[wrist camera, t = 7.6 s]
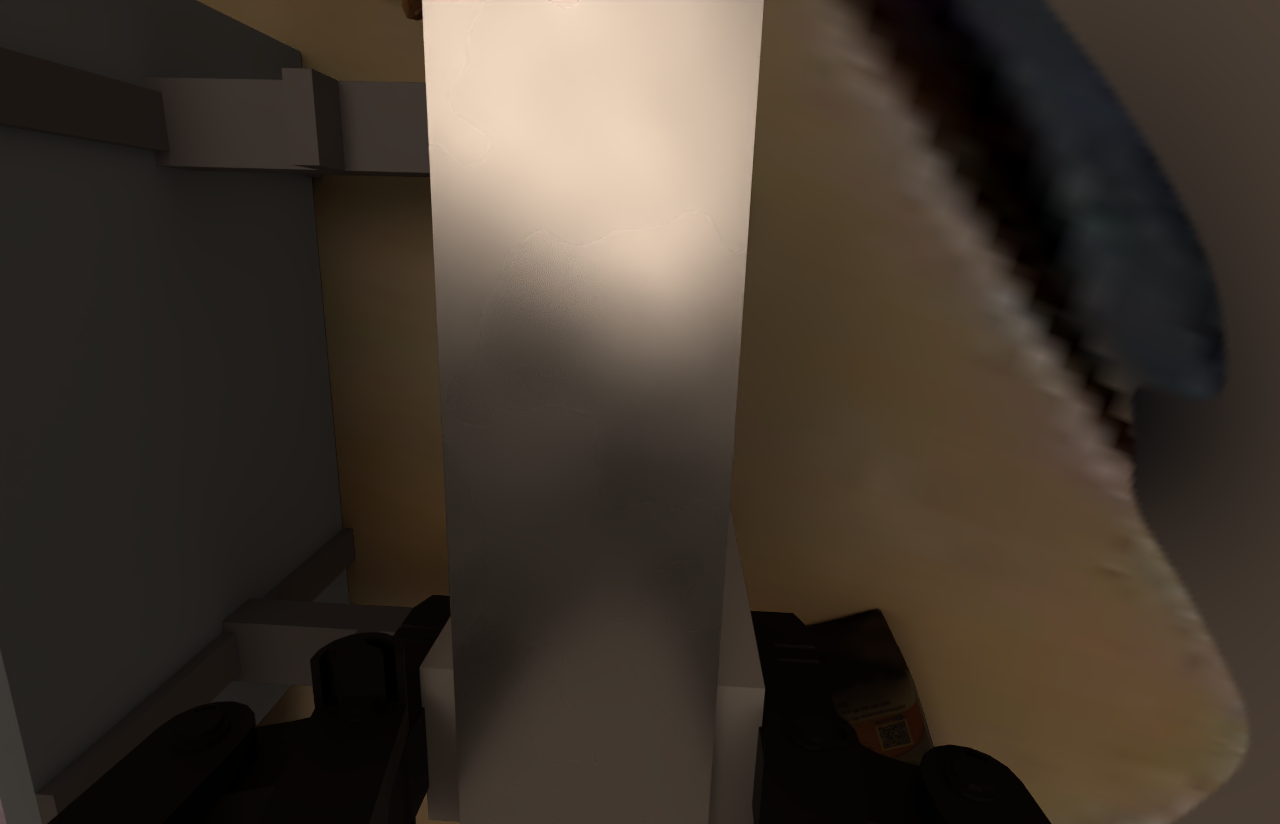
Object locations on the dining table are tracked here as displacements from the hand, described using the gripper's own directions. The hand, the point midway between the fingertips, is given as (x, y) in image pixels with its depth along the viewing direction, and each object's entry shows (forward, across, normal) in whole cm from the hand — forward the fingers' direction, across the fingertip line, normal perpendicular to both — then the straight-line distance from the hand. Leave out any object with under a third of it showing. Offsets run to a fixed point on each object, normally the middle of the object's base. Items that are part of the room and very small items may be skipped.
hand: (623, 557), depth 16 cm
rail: (-3, 0, 0) cm, 3 cm away
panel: (+22, -13, 0) cm, 25 cm away
